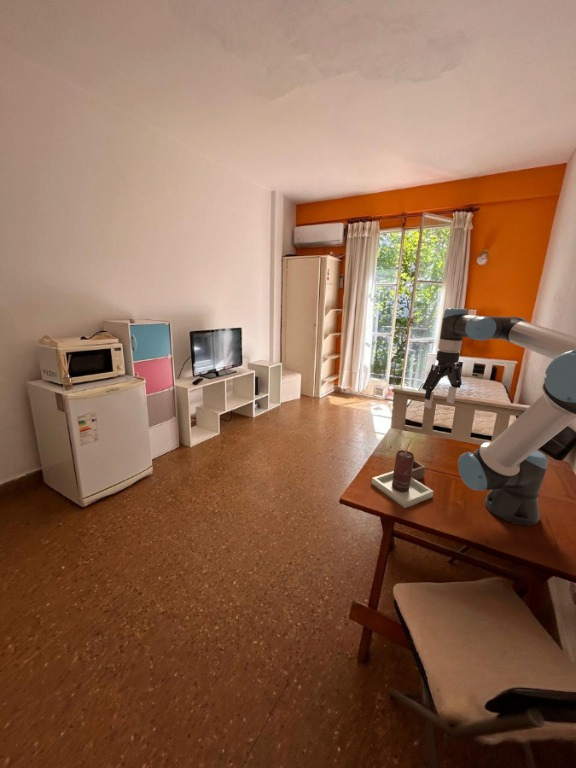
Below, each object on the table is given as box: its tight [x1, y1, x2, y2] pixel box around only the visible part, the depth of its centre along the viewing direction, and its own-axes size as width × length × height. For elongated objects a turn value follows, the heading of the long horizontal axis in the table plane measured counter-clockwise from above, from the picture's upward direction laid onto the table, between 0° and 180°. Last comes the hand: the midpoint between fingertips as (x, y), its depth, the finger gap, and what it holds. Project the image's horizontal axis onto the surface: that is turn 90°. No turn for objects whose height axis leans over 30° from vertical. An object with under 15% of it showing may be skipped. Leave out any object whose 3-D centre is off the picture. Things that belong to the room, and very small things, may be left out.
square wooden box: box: [411, 459, 427, 481], centre depth 126 cm, size 8×8×5 cm
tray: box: [371, 470, 434, 509], centre depth 116 cm, size 16×14×3 cm
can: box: [392, 449, 415, 492], centre depth 115 cm, size 6×6×14 cm
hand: (439, 405), depth 123 cm, fingers open, 13 cm apart
